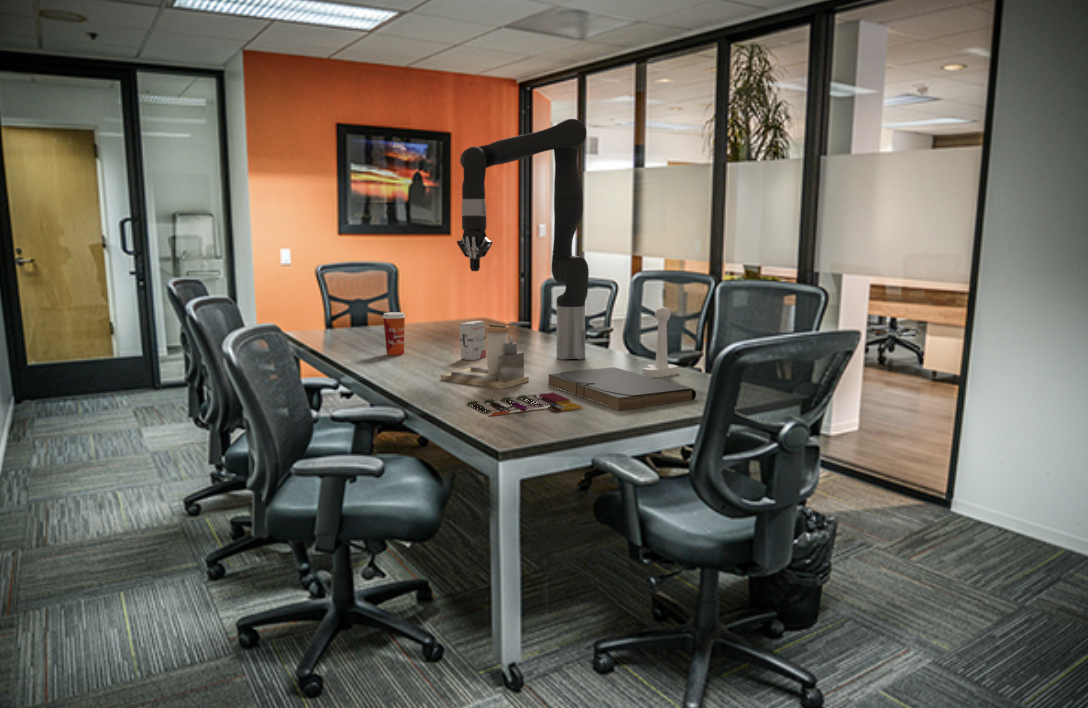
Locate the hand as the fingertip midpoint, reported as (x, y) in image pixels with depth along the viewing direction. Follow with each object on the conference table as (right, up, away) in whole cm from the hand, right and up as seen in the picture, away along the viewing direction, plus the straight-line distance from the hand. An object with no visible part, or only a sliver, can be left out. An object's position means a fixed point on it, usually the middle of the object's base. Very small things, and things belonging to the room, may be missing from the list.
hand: (475, 270), depth 237 cm
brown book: (+41, -37, -37) cm, 66 cm away
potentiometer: (+12, -26, -29) cm, 41 cm away
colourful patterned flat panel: (+17, -40, -53) cm, 68 cm away
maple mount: (+5, -33, -23) cm, 41 cm away
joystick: (+55, -32, -14) cm, 65 cm away
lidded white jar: (+9, -32, -26) cm, 42 cm away
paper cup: (-29, -26, +20) cm, 44 cm away
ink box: (-2, -27, +13) cm, 30 cm away
